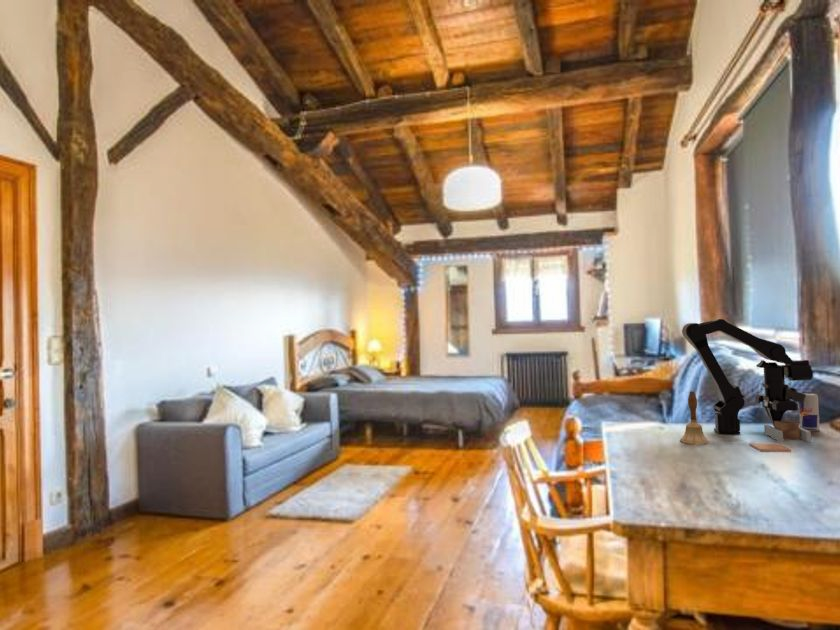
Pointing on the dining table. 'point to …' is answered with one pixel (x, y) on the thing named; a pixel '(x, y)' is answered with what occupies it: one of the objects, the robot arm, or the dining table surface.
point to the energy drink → (809, 413)
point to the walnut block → (788, 429)
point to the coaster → (770, 447)
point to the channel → (779, 434)
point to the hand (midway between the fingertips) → (776, 428)
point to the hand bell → (693, 425)
